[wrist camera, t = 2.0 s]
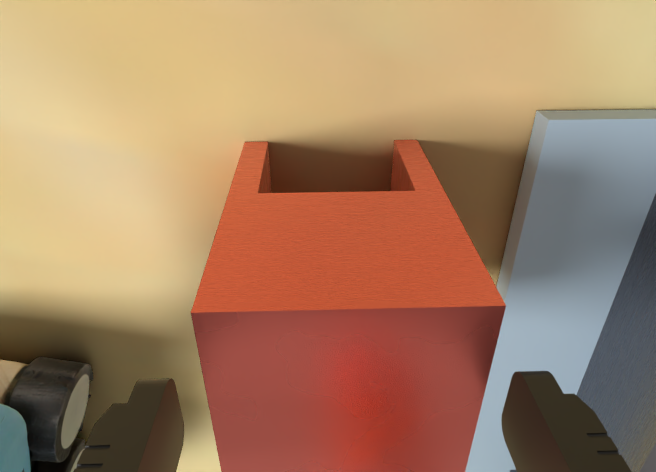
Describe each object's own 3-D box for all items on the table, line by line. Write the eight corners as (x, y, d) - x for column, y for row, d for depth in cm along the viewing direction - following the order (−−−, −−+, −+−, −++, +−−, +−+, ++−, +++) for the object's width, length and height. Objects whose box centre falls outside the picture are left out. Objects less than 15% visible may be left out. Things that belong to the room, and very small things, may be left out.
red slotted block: (244, 141, 17) (190, 312, 9) (417, 139, 17) (506, 305, 9) (258, 281, 20) (226, 495, 12) (403, 278, 20) (461, 487, 12)
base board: (536, 110, 17) (549, 119, 16) (876, 107, 17) (907, 115, 16) (451, 486, 28) (455, 503, 27) (654, 479, 28) (665, 496, 28)
